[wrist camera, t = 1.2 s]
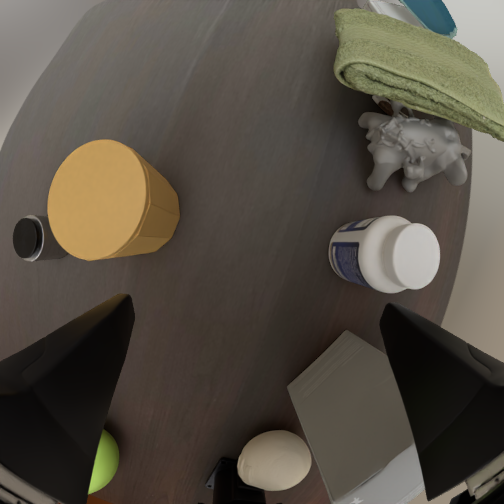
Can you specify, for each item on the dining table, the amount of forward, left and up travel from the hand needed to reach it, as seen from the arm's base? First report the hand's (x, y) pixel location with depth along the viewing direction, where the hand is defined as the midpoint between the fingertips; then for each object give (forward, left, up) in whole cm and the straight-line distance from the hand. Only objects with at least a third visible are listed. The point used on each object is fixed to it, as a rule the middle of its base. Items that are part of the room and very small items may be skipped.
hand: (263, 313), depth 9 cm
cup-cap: (+1, +11, -14) cm, 18 cm away
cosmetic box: (-6, -12, -15) cm, 20 cm away
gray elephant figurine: (+17, -10, -14) cm, 24 cm away
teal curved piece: (+39, -10, -7) cm, 41 cm away
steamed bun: (-19, -11, -9) cm, 24 cm away
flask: (-4, +19, -14) cm, 24 cm away
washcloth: (+22, -8, -8) cm, 25 cm away
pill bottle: (+5, -8, -15) cm, 18 cm away
